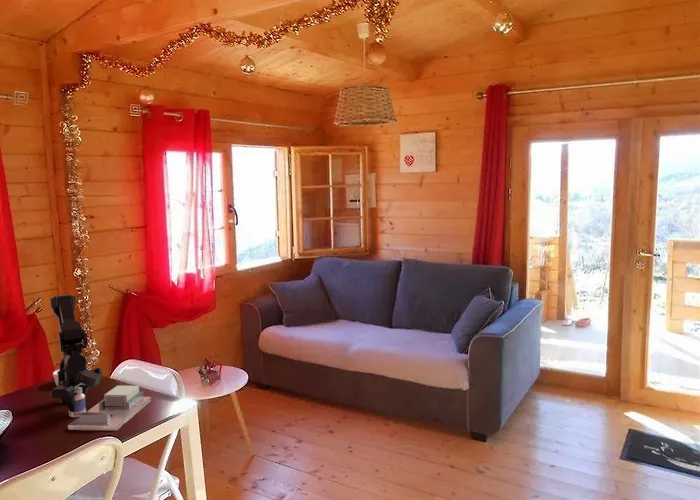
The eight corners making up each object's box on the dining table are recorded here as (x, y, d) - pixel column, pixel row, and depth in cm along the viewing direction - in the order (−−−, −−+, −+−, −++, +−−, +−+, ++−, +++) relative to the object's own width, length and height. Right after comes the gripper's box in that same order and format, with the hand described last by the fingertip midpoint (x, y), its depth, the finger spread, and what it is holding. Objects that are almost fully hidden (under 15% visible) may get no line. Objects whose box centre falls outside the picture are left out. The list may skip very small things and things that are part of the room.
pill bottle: (89, 411, 193) (87, 386, 192) (80, 417, 188) (78, 392, 187) (74, 411, 194) (72, 386, 193) (65, 417, 189) (63, 391, 188)
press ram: (104, 406, 193) (103, 395, 192) (118, 396, 202) (117, 385, 202) (126, 407, 192) (125, 395, 192) (139, 396, 202) (138, 385, 201)
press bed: (68, 429, 179) (67, 416, 178) (108, 400, 203) (107, 388, 203) (116, 430, 177) (115, 416, 177) (151, 400, 202) (150, 388, 202)
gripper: (81, 373, 179) (84, 420, 181) (110, 355, 197) (113, 398, 199) (47, 372, 180) (51, 419, 182) (80, 355, 198) (83, 398, 200)
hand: (77, 408), depth 191 cm, fingers closed on pill bottle, 5 cm apart
